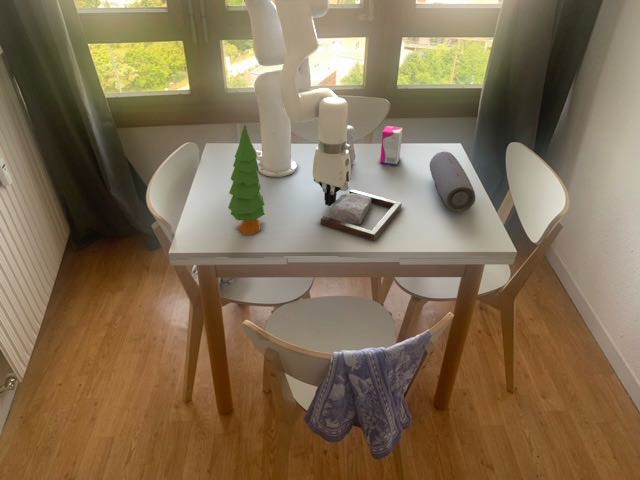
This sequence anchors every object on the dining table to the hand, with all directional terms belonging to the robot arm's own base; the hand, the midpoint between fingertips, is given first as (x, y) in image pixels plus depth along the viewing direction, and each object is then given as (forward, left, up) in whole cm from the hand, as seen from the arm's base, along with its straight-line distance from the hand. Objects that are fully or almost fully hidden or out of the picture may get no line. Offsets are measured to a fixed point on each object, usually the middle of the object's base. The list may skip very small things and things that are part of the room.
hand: (330, 203), depth 143 cm
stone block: (+6, 0, -1) cm, 7 cm away
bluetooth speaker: (+28, +23, -1) cm, 36 cm away
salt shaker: (-9, +28, -1) cm, 29 cm away
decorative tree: (-14, -21, -1) cm, 25 cm away
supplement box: (+3, +37, -1) cm, 37 cm away
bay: (+10, 0, -1) cm, 10 cm away
